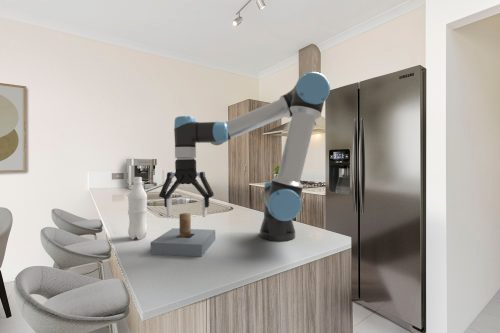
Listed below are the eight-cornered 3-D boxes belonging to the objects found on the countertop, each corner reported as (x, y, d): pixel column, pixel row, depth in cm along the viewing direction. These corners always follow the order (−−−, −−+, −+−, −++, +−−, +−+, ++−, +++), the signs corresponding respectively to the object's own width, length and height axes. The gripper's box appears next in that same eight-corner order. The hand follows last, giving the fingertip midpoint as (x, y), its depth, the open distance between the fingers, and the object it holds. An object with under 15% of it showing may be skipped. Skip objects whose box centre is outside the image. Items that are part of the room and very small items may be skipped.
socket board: (215, 239, 102) (215, 229, 102) (201, 256, 84) (201, 244, 84) (172, 237, 104) (172, 228, 104) (150, 253, 86) (150, 242, 86)
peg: (192, 244, 96) (192, 213, 95) (188, 248, 92) (188, 215, 91) (182, 244, 96) (182, 213, 96) (177, 247, 92) (177, 215, 92)
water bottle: (140, 241, 99) (140, 178, 99) (124, 240, 101) (123, 177, 100) (150, 235, 106) (150, 176, 106) (135, 234, 108) (135, 176, 107)
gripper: (221, 158, 95) (222, 214, 96) (158, 159, 98) (159, 213, 99) (216, 158, 88) (217, 218, 89) (148, 159, 91) (150, 218, 91)
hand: (187, 216), depth 94 cm, fingers open, 13 cm apart
